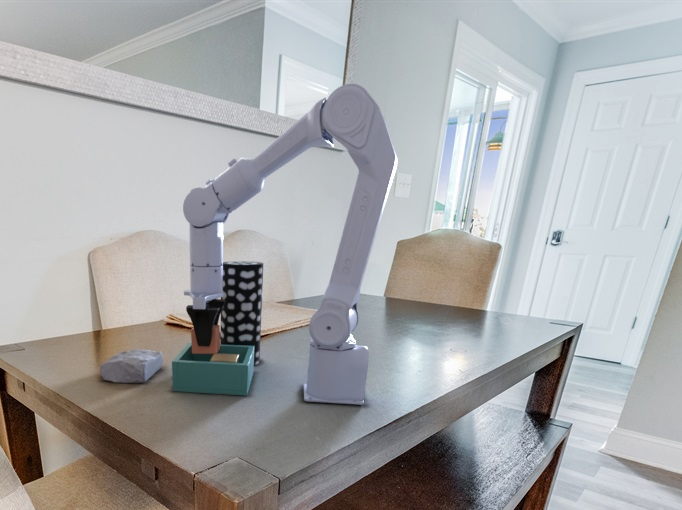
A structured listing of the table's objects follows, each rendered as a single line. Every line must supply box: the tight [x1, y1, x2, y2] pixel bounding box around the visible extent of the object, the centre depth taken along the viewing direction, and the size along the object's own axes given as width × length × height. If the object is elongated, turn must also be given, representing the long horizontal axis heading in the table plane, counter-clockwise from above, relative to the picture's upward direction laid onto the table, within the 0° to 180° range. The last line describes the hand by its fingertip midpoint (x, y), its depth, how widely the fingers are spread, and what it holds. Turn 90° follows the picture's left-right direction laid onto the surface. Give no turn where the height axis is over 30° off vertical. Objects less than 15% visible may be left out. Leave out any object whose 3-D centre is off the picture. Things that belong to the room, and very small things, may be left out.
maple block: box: [210, 354, 239, 363], centre depth 82 cm, size 4×4×4 cm
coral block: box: [190, 324, 221, 354], centre depth 85 cm, size 4×4×4 cm
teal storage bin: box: [171, 342, 255, 397], centre depth 84 cm, size 13×13×5 cm
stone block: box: [99, 348, 164, 384], centre depth 89 cm, size 12×5×10 cm
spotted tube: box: [220, 260, 264, 366], centre depth 94 cm, size 8×8×20 cm
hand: (206, 342), depth 85 cm, fingers open, 5 cm apart
